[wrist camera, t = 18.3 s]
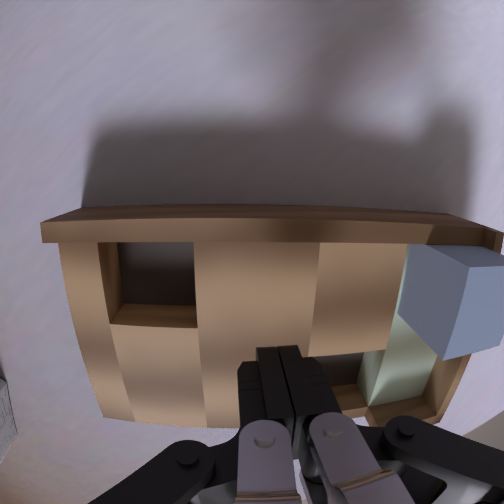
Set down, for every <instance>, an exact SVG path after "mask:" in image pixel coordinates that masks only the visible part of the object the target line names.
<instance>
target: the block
mask: <svg viewBox="0 0 504 504" xmlns="http://www.w3.org/2000/svg"><path fill="white" fill-rule="evenodd" d="M397 314H398V315H399V316H400V317H401V318H402V319H403V320H404V321H405V322H406V323H407V324H408V325H409V326H410V327H411V328H412V329H413V330H414V331H415V332H416V333H417V334H418V335H419V336H420V337H421V338H422V340H423V341H424V342H425V343H426V344H427V345H428V346H429V347H430V348H431V349H432V350H433V351H434V352H435V353H436V354H437V355H438V356H439V358H440V359H441V360H442V361H444V360H448V359H452V358H456V357H460V356H464V355H468V354H471V353H475V352H478V351H482V350H485V349H489V348H492V347H495V346H498V345H500V342H501V339H502V337H503V334H504V256H503V255H501V254H499V253H497V252H495V251H492V250H490V249H488V248H486V247H483V246H481V245H445V244H410V247H409V253H408V260H407V266H406V272H405V277H404V283H403V288H402V293H401V298H400V303H399V307H398V312H397Z"/></svg>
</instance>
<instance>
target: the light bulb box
mask: <svg viewBox="0 0 504 504" xmlns="http://www.w3.org/2000/svg"><path fill="white" fill-rule="evenodd" d="M16 437H17V431H16V427H15V423H14V419H13V415H12V410H11V405H10V400H9V395H8V389H7V383H6V382H5V381H4V380H2V379H1V378H0V464H1V462H2V461H3V459H4V457H5V455H6V453H7V452H8V450H9V448H10V447H11V445H12V443H13V442H14V440H15V438H16Z"/></svg>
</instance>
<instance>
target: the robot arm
mask: <svg viewBox="0 0 504 504" xmlns="http://www.w3.org/2000/svg"><path fill="white" fill-rule="evenodd" d="M237 381H238V402H239V417H240V428H239V431H238V433H237V434H236V435H235V436H234V437H233V438H232V439H231V440H229V441H227V442H225V443H222V444H219V445H215V446H212V447H208V446H206V445H205V444H203V443H201V442H198V441H194V440H183V441H178V442H175V443H173V444H171V445H170V446H168V447H167V448H166V449H164V450H163V451H162V452H161V453H159V454H158V455H157V456H155V457H154V458H153V459H151V460H150V461H149V462H147V463H146V464H145V465H143V466H142V467H141V468H139V469H138V470H136V471H135V472H134V473H132V474H131V475H130V476H128V477H127V478H125V479H124V480H122V481H121V482H120V483H118V484H117V485H115V486H114V487H112V488H111V489H109V490H108V491H106V492H105V493H103V494H102V495H100V496H99V497H97V498H96V499H94V500H93V501H91V502H89V503H88V504H302V500H301V497H300V494H298V493H297V489H296V481H295V472H294V464H293V460H294V459H299V462H300V466H301V470H300V474H299V477H300V481H301V484H302V487H303V490H304V493H305V496H306V499H307V502H308V504H504V451H502V450H499V449H496V448H493V447H490V446H487V445H484V444H481V443H479V442H476V441H473V440H470V439H467V438H465V437H462V436H460V435H457V434H454V433H452V432H449V431H447V430H444V429H442V428H439V427H437V426H434V425H432V424H429V423H427V422H425V421H422V420H420V419H418V418H415V417H412V416H407V415H401V416H397V417H394V418H392V419H391V420H389V421H388V422H387V424H386V425H385V427H368V426H361V425H357V424H355V422H354V421H353V420H352V419H351V418H350V417H348V416H346V415H344V414H343V413H342V411H341V409H340V407H339V404H338V402H337V400H336V397H335V395H334V393H333V390H332V388H331V386H330V384H329V381H328V379H327V376H325V372H324V370H323V367H322V365H321V364H320V363H319V362H318V361H317V360H316V359H314V358H313V357H302V355H301V353H300V350H299V347H298V345H284V346H277V347H276V346H270V347H256V361H242V363H241V365H240V367H239V368H238V370H237Z"/></svg>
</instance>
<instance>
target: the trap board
mask: <svg viewBox="0 0 504 504" xmlns="http://www.w3.org/2000/svg"><path fill="white" fill-rule="evenodd" d="M40 226H41V234H42V242H43V243H58V245H59V252H60V259H61V265H62V271H63V277H64V283H65V288H66V293H67V298H68V303H69V307H70V312H71V316H72V320H73V324H74V328H75V332H76V336H77V339H78V343H79V347H80V350H81V354H82V357H83V360H84V363H85V367H86V370H87V373H88V376H89V379H90V382H91V385H92V387H93V390H94V393H95V396H96V399H97V401H98V404H99V406H100V409H101V412H102V414H103V416H104V417H106V418H112V419H118V420H125V421H132V422H140V423H148V424H158V425H168V426H182V427H201V428H240V417H239V402H238V381H237V370H238V368H239V367H240V365H241V363H242V361H256V347H270V346H276V347H277V346H284V345H298V347H299V350H300V353H301V355H302V357H313V358H314V359H316V360H317V361H318V362H319V363H320V364H321V365H322V367H323V370H324V372H325V376H327V379H328V381H329V384H330V386H331V388H332V390H333V393H334V395H335V397H336V400H337V402H338V404H339V407H340V409H341V411H342V413H343V414H344V415H346V416H348V417H350V418H357V417H363V416H365V418H366V420H367V422H368V424H369V426H370V427H385V425H386V424H387V422H388V421H389V420H391V419H392V418H394V417H397V416H401V415H407V416H412V417H415V418H418V419H420V420H422V421H425V422H427V423H429V424H432V425H433V424H436V423H439V422H440V421H441V419H442V417H443V415H444V413H445V411H446V409H447V407H448V405H449V403H450V401H451V399H452V397H453V395H454V393H455V391H456V389H457V387H458V385H459V382H460V380H461V378H462V376H463V373H464V371H465V369H466V366H467V364H468V361H469V359H470V356H471V354H472V353H471V354H468V355H464V356H460V357H456V358H452V359H448V360H444V361H442V360H441V359H440V358H439V356H438V355H437V354H436V353H435V352H434V351H433V350H432V349H431V348H430V347H429V346H428V345H427V344H426V343H425V342H424V341H423V340H422V338H421V337H420V336H419V335H418V334H417V333H416V332H415V331H414V330H413V329H412V328H411V327H410V326H409V325H408V324H407V323H406V322H405V321H404V320H403V319H402V318H401V317H400V316H399V315H398V314H397V312H398V307H399V303H400V298H401V293H402V288H403V283H404V277H405V272H406V266H407V260H408V253H409V247H410V244H445V245H481V246H483V247H486V248H488V249H490V250H492V251H495V252H497V253H499V254H500V253H501V248H502V243H503V237H504V233H503V232H500V231H498V230H495V229H492V228H489V227H486V226H483V225H480V224H478V223H475V222H472V221H469V220H465V219H462V218H459V217H456V216H453V215H450V214H439V213H428V212H415V211H402V210H387V209H371V208H352V207H330V206H303V205H259V204H183V205H140V206H113V207H92V208H79V209H77V210H74V211H71V212H68V213H65V214H62V215H59V216H57V217H54V218H51V219H49V220H46V221H43V222H41V223H40Z"/></svg>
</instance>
